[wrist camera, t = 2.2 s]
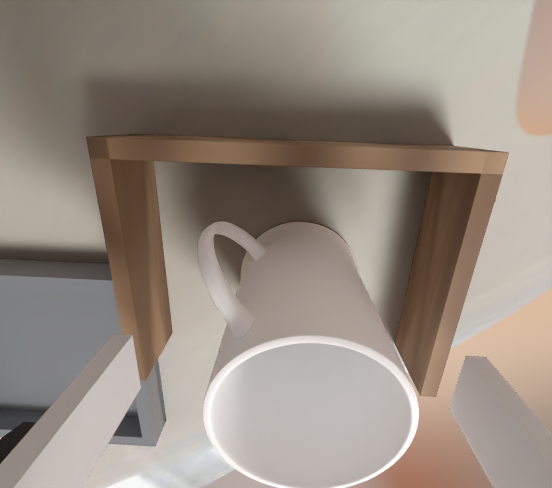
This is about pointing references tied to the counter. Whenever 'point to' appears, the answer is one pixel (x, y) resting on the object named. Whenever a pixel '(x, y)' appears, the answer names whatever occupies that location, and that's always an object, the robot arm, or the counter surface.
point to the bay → (407, 157)
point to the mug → (302, 363)
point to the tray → (62, 343)
